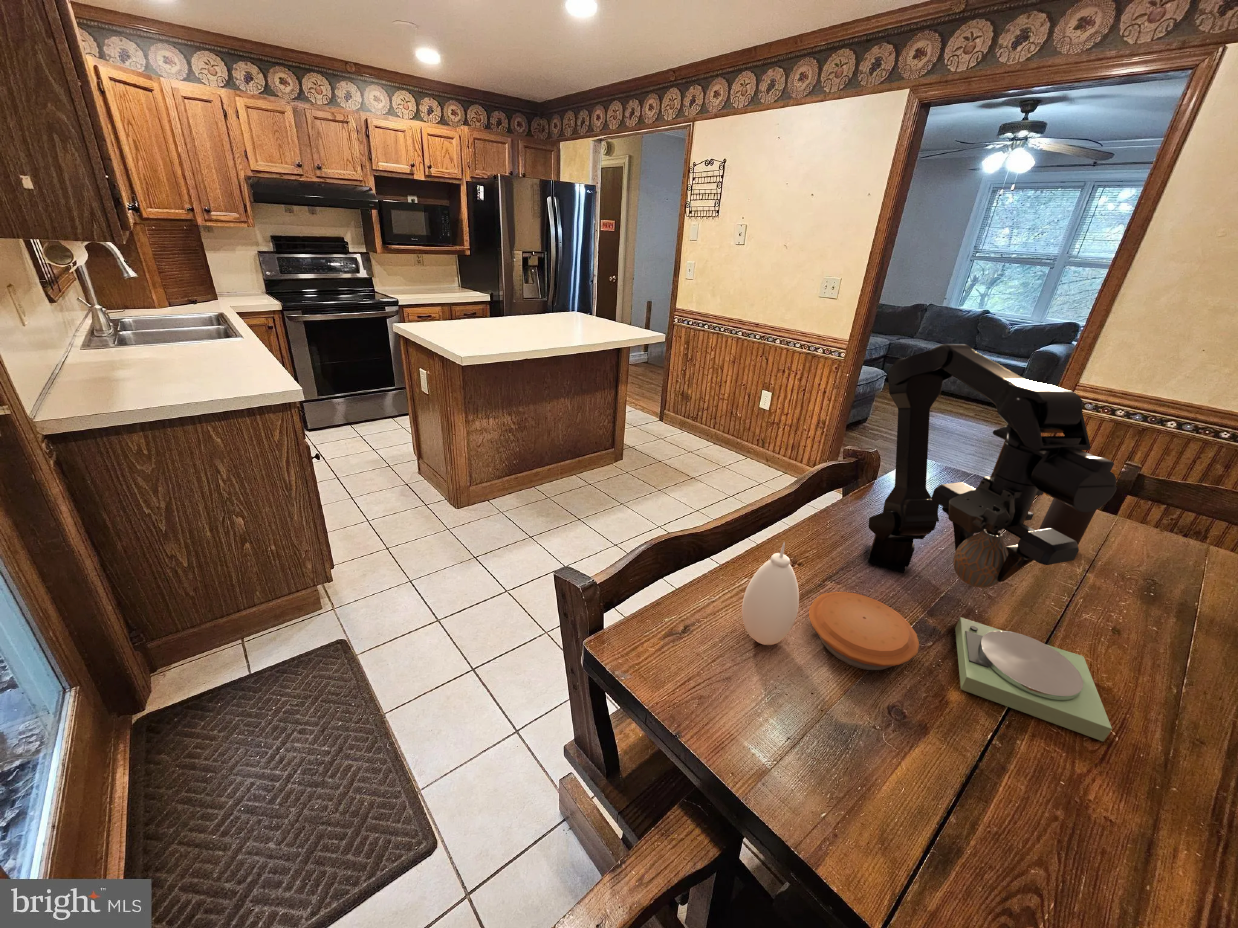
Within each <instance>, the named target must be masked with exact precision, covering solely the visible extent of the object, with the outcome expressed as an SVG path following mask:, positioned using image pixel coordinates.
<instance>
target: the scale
mask: <svg viewBox="0 0 1238 928" xmlns="http://www.w3.org/2000/svg"><path fill="white" fill-rule="evenodd" d="M954 630H955V631H954V632H955V642H956V651H957V662H958V672H959V674H958V675H959V684H960V690H961V691H963V692H966V693H970V694H973V695H975V696H978V697H980V698H983V699H985V700H988V701H991V702H994V703H997V704H999V705H1003V706H1005V707H1007V708H1010V709H1013V710H1016V711H1019V712H1021V713H1024V714H1027V715H1030V716H1032V717H1035V718H1038V719H1040V720H1043V721H1045V722H1048V723H1051V724H1054V725H1057V726H1059V727H1062V728H1064V729H1068V730H1070V731H1073V732H1075V733H1079V734H1081V735H1084V736H1087V737H1089V738H1092V739H1095V740H1097V741H1100V742H1104V741H1105V740H1106V739H1107V737H1108V736H1109V734H1111V732H1112V730H1113V727H1112V725H1111V722H1110V720H1109V717H1108V715H1107V712H1106V710H1105V706H1104V704H1103V702H1102V700H1101V697H1100V694H1099V691H1098V689H1097V687H1096V684H1095V681H1094V679H1093V676H1092V674H1091V671H1090V669H1089V666H1088V664H1087V661H1086V659H1085V657H1084V655H1081V654H1077V653H1074V652H1071V651H1068V650H1065V649H1062V648H1059V647H1056V646H1052V645H1049V644H1047V645H1048V646H1049V647H1051V648H1053V649H1054V650H1056V651H1057V652H1059V653H1060V654H1061V655H1063V656H1064V657H1065V658H1066V659H1068V660H1069V661H1070V662H1071V663H1072V664H1073V665H1074V666H1075V667H1076V669H1077V670H1078V671H1079V673H1080V675H1081V677H1082V679H1083V688H1082V690H1081V692H1080V693H1079V695H1078V696H1076V697H1075V698H1072V699H1068V700H1055V699H1049V698H1045V697H1041V696H1038V695H1035V694H1032V693H1030V692H1027V691H1025V690H1023V689H1021V688H1019V687H1017V686H1015V685H1013V684H1012V683H1010V682H1009V681H1007V680H1006V679H1004V678H1003V677H1001V676H1000V675H999V674H998V673H996V672H995V671H994V670H993V669H992V668H991V667H990V666H989V665H988V664H987V662H986V661H985V660H984V658H983V657H982V655H981V653H980V649H979V644H980V641H981V639H982V637H983V636H984V635H985V634H987V633H989V632H992V631H1003V629H1000V628H995V627H992V626H989V625H986V624H983V623H980V622H977V621H975V620H974V621H973V620H970V619H967V618H964V617H961V616H960V617H959V619H958V621H957V624H956V625H955V628H954Z"/></svg>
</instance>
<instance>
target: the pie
mask: <svg viewBox="0 0 1238 928" xmlns="http://www.w3.org/2000/svg"><path fill="white" fill-rule="evenodd" d="M808 611H809V613H808V619H809V621H810V623H811V626H812V628H813V629H814V631H815V632H816V633H817V635H818V637H819V639H820V641H821V643H822V644H823V646H824V647H825V648H826V650H827V651H828V652H829V653H830V654H832V655H833V656H834V657H835V658H837V659H838V660H840V661H841V662H844V663H845V664H847V665H849V666H852V667H855V668H858V669H861V670H868V671H883V670H886V669H889V668H891V667H896V666H899V665H902V664H904V663H906V662H907V663H908V662H909V661H910V660H912V659H913V658H914V657H915V656H916V655H917V654H918V651H919V647H920V642H919V637H918V634H917V632H916V631H915V629H914V628H913V627H912V625H911V624H910V623H909V622H908V621H907V620H906V619H905V617H904V616H903V615H902V614H900V612H898V611H896V610H895V609H894V608H892V607H890V606H889V605H888V604H885V603H882V602H881V601H879V600H876V599H874V598H872V597H868V596H867V595H863V594H860V593H855V592H848V591H830V592H825V593H821V594H820V595H819V596H818V597H817V598H815V599H814V600H813V602H812V603H811V605H810V606H809V608H808Z"/></svg>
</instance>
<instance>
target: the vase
mask: <svg viewBox="0 0 1238 928" xmlns="http://www.w3.org/2000/svg"><path fill="white" fill-rule="evenodd" d="M1006 547H1007V546H1006V544H1005V541H1004V537H1003V533H1002V532H1001V531H998V532H996V533H993V532H991V531H989V530H987V529H984V530H983V531H981V532H979V533H974V535H973V536H971V537H969V538H967V539H965V540H964V541H963V542H962V543H961V544H960V545H959V546H958V548H957V550H956V552H954V555H953V560H952V561H953V570H954V572H955V574H956V575H957V577H958V578H959V579H960V580H961V581H962V582H964V583H965V584H967V585H968V586H971V587H974V588H980V589H984V588H985V589H986V588H990V587H994V586H996V585H997V584H999V583H1000V582H999V581H997V579H998V575H999V572H1000V570H1001V568H1002V566H1003V564H1004V562H1005V560H1006V558H1007V556H1008V551H1007V549H1006Z"/></svg>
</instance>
